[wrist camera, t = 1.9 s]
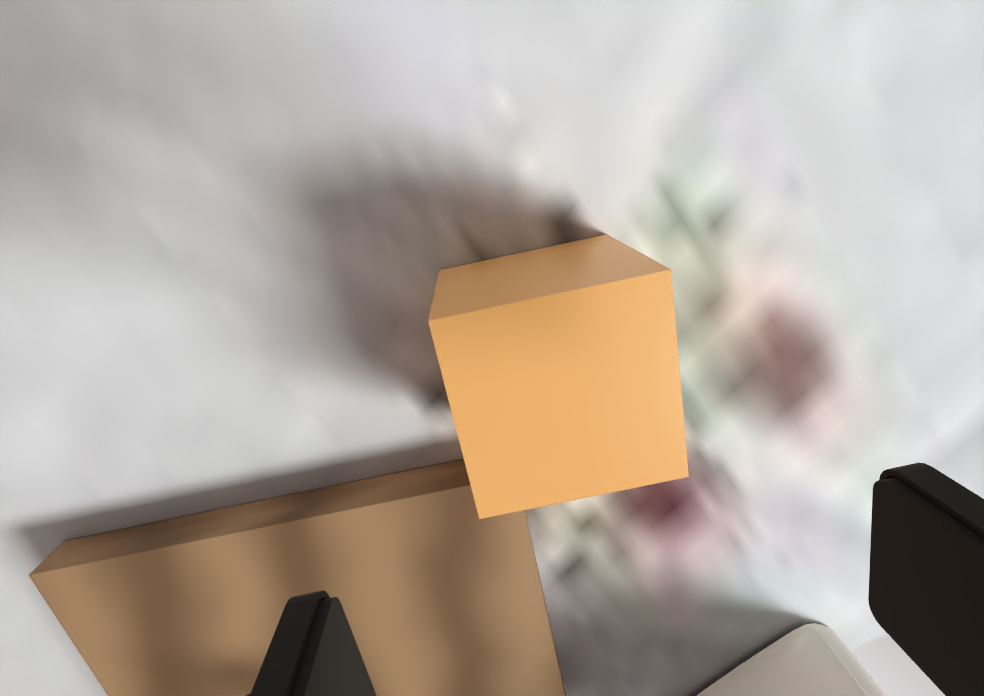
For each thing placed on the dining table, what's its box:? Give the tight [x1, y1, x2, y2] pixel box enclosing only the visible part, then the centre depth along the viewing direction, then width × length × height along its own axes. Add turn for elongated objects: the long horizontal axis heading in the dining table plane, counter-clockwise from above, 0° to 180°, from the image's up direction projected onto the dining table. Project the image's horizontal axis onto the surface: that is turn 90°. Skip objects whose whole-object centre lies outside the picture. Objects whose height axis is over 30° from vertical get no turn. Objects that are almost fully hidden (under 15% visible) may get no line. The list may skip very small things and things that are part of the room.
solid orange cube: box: [428, 234, 689, 519], centre depth 18 cm, size 6×6×6 cm
